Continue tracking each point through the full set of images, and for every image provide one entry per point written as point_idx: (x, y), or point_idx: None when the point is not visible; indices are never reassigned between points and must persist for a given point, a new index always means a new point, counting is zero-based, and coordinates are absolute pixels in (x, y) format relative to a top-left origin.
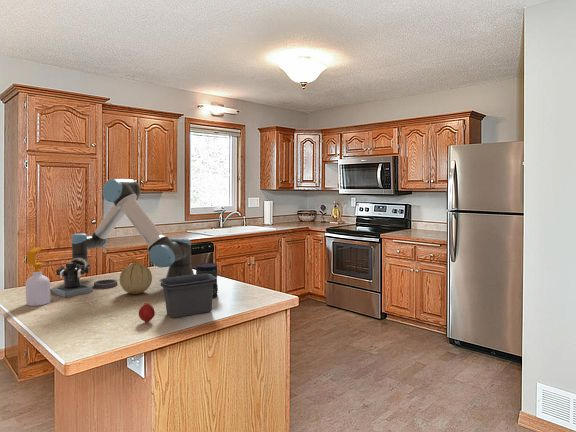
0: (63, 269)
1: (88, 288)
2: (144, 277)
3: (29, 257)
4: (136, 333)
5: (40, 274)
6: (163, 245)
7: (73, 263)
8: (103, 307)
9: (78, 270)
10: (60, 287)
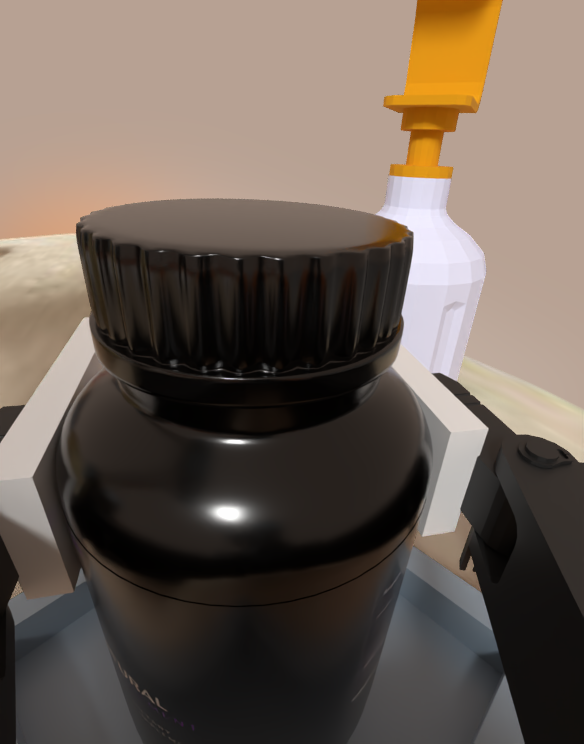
0: (557, 512)
1: (13, 608)
2: None
3: (467, 35)
4: (17, 246)
5: (385, 201)
6: None
7: (171, 200)
8: (30, 332)
9: (91, 358)
10: (479, 726)
